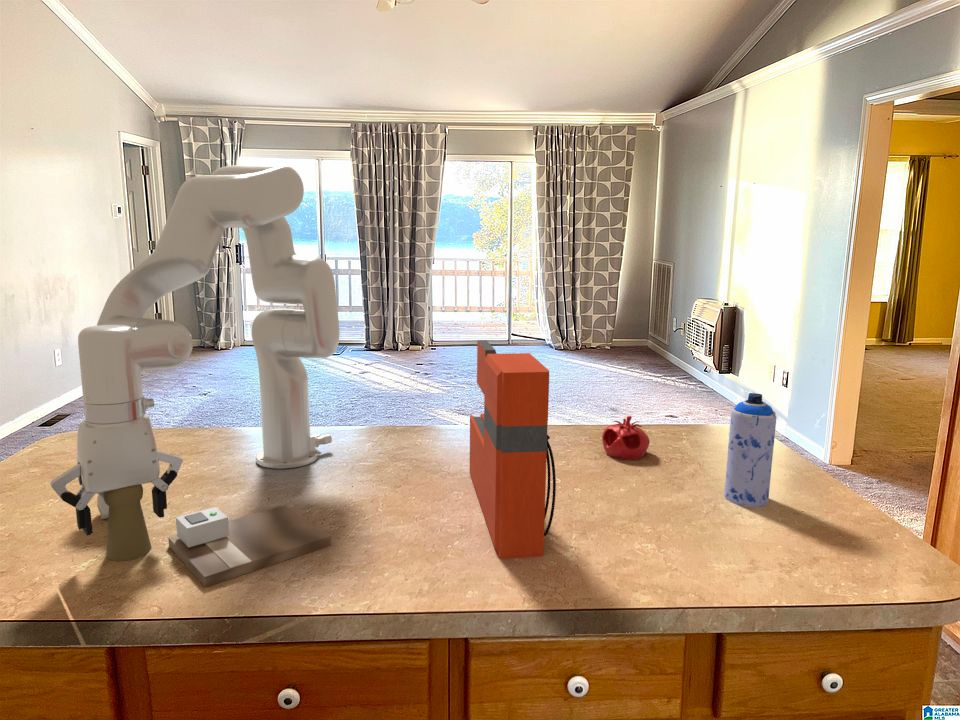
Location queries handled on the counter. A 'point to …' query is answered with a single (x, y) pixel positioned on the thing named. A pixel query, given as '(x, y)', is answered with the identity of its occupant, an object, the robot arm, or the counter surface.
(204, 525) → the white box with button
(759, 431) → the aerosol can
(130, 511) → the olive pawn figure
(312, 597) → the counter surface
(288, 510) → the board
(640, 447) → the pomegranate
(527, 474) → the toy gas pump
